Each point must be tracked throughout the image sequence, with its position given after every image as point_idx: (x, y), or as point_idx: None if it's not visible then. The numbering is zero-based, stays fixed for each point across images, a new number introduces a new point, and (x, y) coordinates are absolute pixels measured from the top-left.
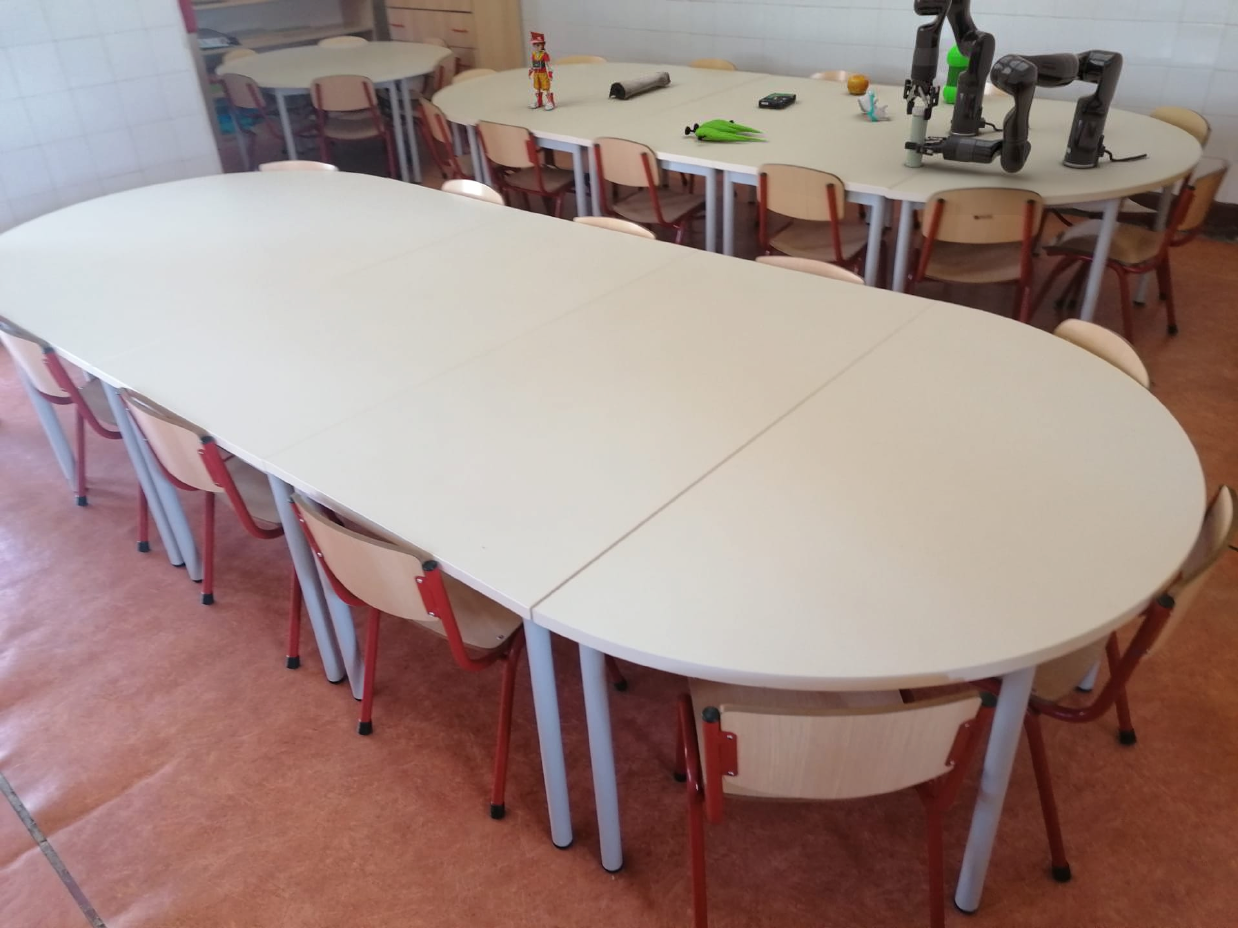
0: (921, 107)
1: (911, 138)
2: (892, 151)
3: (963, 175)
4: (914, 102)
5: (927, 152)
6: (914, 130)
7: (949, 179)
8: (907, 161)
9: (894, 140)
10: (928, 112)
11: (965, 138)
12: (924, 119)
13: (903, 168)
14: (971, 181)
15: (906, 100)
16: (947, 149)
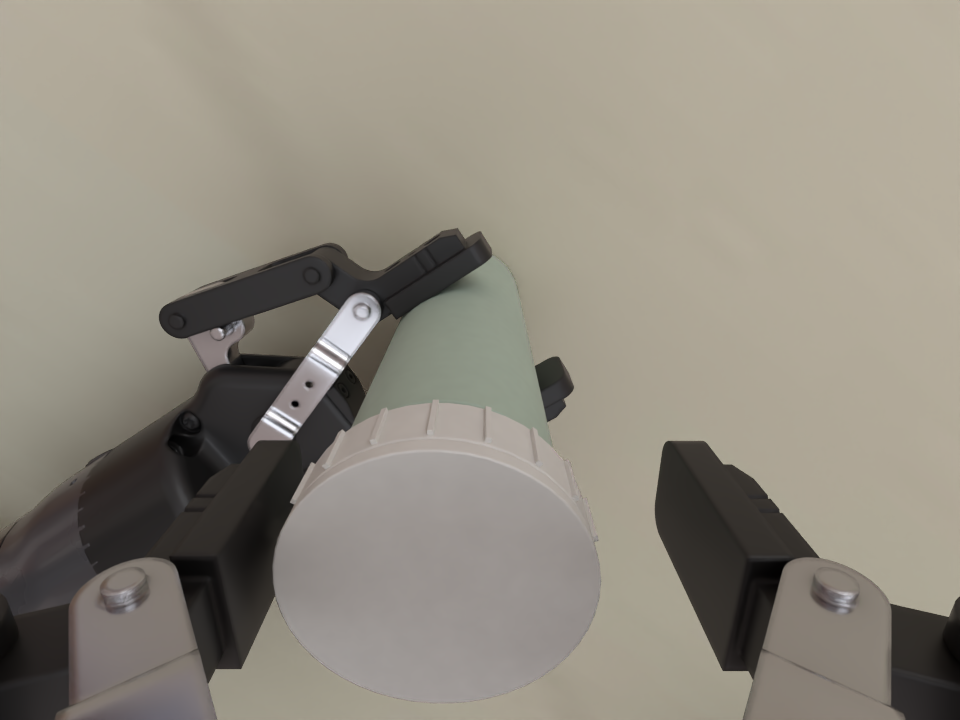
0: (470, 609)
1: (456, 301)
2: (793, 375)
3: (141, 413)
4: (722, 660)
5: (216, 282)
6: (424, 335)
7: (92, 296)
8: None
9: (946, 519)
10: (173, 537)
11: (70, 589)
12: (264, 442)
13: (442, 193)
14: (13, 378)
15: (876, 586)
16: (151, 427)
